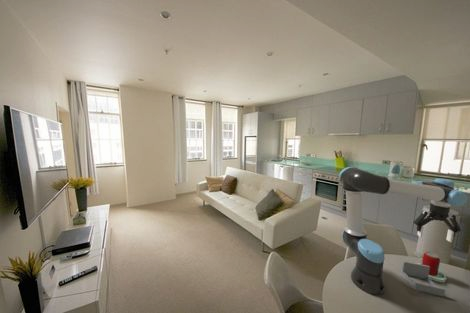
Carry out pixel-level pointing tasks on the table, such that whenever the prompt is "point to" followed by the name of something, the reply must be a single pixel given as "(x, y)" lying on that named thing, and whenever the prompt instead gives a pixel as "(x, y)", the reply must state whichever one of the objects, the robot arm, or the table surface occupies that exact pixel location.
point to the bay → (421, 272)
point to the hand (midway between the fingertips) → (433, 238)
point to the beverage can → (431, 262)
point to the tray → (439, 278)
